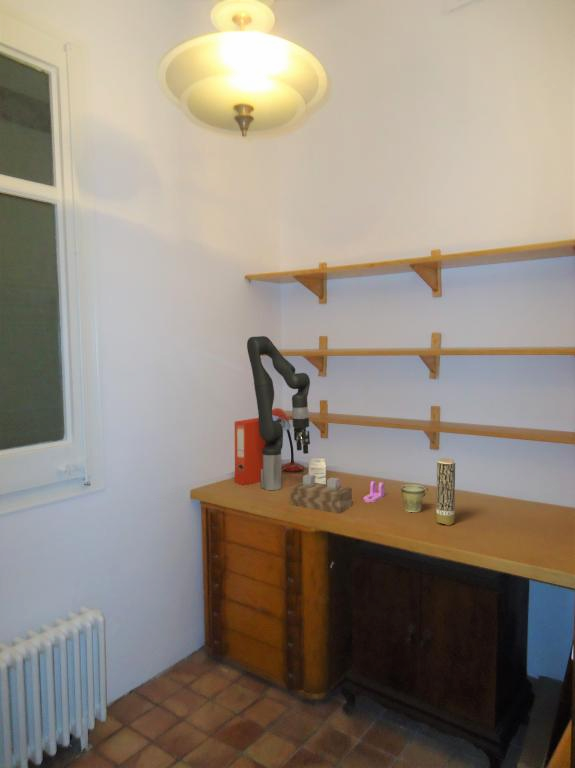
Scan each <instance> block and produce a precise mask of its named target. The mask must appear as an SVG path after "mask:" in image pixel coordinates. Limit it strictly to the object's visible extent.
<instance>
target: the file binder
mask: <svg viewBox="0 0 575 768" xmlns="http://www.w3.org/2000/svg"><path fill="white" fill-rule="evenodd" d="M265 444H266V441H265V440H263V439H262V437H261V436H260V432H259V417H255V418H249V419H243V420H242V419H241V420H236V421H234V483H235V484H236V483H237V485H240V484H241V486H244V485H247V486H250V485H254V484H256V482H257V483H259V481H261V469H262V468H263V456H262V449H263V447H264V446H265ZM253 483H254V484H253ZM249 484H250V485H249Z"/></svg>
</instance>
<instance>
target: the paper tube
mask: <svg viewBox="0 0 575 768" xmlns="http://www.w3.org/2000/svg"><path fill="white" fill-rule="evenodd" d="M455 482H456V460H454V459H450V458H439V459H437V460H436V506H435V507H436V509H435V511H436V513H435V514H436V517H435V518H436V520H435V521H436V523H437V522H439V523H443V524H451V523H455V504H456V503H455V501H456V498H455V497H456V493H455V492H456V483H455ZM439 523H438V524H439Z"/></svg>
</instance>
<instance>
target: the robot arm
mask: <svg viewBox="0 0 575 768" xmlns="http://www.w3.org/2000/svg"><path fill="white" fill-rule="evenodd" d="M246 349H247V355H248V358H249V363H250V367H251V372H252V377H253V386H254V392H255V399H256V407H257V412H258V418H259V432H260V436H261V437H262V439H263V440H265V441H266V444H265V446H264V447H263V449H262V456H263V468H262V469H261V482H260V488H261V489H263V490H265V491H278V490H281V489H282V449H283V445H284V430H283V429H284V428H283V425H282V424H281V422H279V421H278V420H274V418H273V405H274V402H275V401H274V400H275V388H274V382H273V379H272V377H271V376H270V374H269V373H268V371H267V370H266V369H265V367H264V366H263V362H262V359H261V356H264V355H266V356H267V357H269V359H271V362H272V366H273V368H274V370H275V371H276V372H277V373H278V374H279V375H280V376H281V377H282V379H284V382H285V383H286V385H287V387H288V388H290V389H293V390H297V392H296V393H295V394H293V395H292V397H291V406H292V409H291V416H292V417H291V418H292V427H293V438H294V439H293V440H294V441H295V443H296V451H303V454H309V445H311V440H310V439H311V438H310V437H311V436H310V430H307V428H309V427H310V414H309V407H308V397H309V396H308V395H309V392H310V387H311V381H310V377H309V375H308V374H307V373H305V372H300V373H296V368H295V366H294V365H293V364H292V363H291V362H290V361H288V359H286V358H285V357H284V356H283V355H282V353H280V351H279V350H278V349H277V347H276V346H275V344H274V343H273V341H272V340H271V339H270V338H269V337H268V336H265V335H261V336H259V335H258V336H251V337H249V338H248V339H247V342H246Z"/></svg>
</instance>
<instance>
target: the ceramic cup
mask: <svg viewBox="0 0 575 768" xmlns="http://www.w3.org/2000/svg"><path fill="white" fill-rule="evenodd" d="M400 490H401V497H402V503H403V508H404V511H405V510H406V511H408V512H418V511H420V512H421V511H422V505H423V500H424V498H425V496H426V495H427V494H428V492H429V489H428V487H425V486H422V485H419V484H404V485H401V487H400ZM406 511H405V512H406ZM408 512H407V513H408Z"/></svg>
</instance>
